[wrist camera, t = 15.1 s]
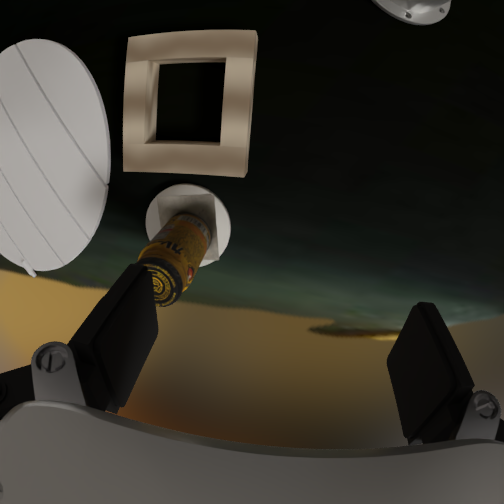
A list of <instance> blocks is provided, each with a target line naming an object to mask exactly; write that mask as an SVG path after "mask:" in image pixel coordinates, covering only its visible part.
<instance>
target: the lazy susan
mask: <svg viewBox="0 0 504 504" xmlns="http://www.w3.org/2000/svg"><path fill="white" fill-rule="evenodd" d="M16 44H17V45H12V46H10V47H9V48H7V49H5V50H4V51H3V52H1V53H0V253H1V254H2V255H3V256H4V257H6V258H7V259H8V260H10V261H12V262H13V263H15V264H17V265H19V266H21V267H24V268H25V269H26V271H27V272H28V273H29V275H32V276H33V277H35V276H36V275H37V274H36V273H35V272H34V270H36V271H48V270H53V269H57V268H60V267H62V266H64V265H66V264H67V263H69V262H70V261H72V260H73V259H74V258H75V257H76V256H78V255H79V254H80V253H81V252H82V251H83V250H84V248H85V247H86V246H87V245H88V243H89V242H90V240H91V237H93V235H94V233H95V231H96V229H97V227H98V225H99V222H100V220H101V217H102V214H103V211H104V207H105V203H106V199H107V194H108V188H109V187H108V185H107V184H108V183H109V180H110V166H111V151H110V137H109V129H108V122H107V117H106V113H105V108H104V105H103V101H102V98H101V95H100V92H99V90H98V87H97V85H96V83H95V81H94V79H93V77H92V75H91V73H90V72H89V70H88V69H87V67H86V66H85V64H84V63H83V62H82V61H81V59H80V58H79V57H78V56H77V55H76V54H75V53H74V52H72V51H71V50H70V49H68V48H67V47H65V46H64V45H62V44H59V43H57V42H54V41H50V40H44V39H30V40H25V41H22V42H19V43H16ZM33 269H34V270H33Z"/></svg>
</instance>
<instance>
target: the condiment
mask: <svg viewBox="0 0 504 504" xmlns="http://www.w3.org/2000/svg"><path fill="white" fill-rule="evenodd" d="M157 204H158V212H159V219H160V226H161V230H160V231H159V232H158V233H157V234H156V235H155V236H154V238H153V239H152V240H151V241H150V242H149V243H148V244H147V245H146V246H145V248H144V249H143V250H142V251H141V252H140V255H139V258H138V261H137V263H135V264H137V265H143V266H147V268H148V271H151V272H152V276H153V286H154V296H155V305H156V306H159V307H160V306H161V307H166V306H169V305H171V304H173V303H174V302H176V301H177V300H178V299H179V297H180V296H181V294H182V292H183V291H184V290H186V289H187V288H188V287H189V285H190V284H191V282H192V280H193V278H194V276H195V274H196V272H197V270H198V268H199V266H200V264H201V262H202V260H219V251H218V237H217V226H216V211H215V198H214V195H197V196H194V195H191V196H165V197H157Z"/></svg>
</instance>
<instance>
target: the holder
mask: <svg viewBox="0 0 504 504" xmlns="http://www.w3.org/2000/svg"><path fill="white" fill-rule="evenodd" d="M257 43H258V37H257V33H256V31H254V30H195V31H179V32H167V33H157V34H149V35H141V36H134V37H129V38H128V47H127V58H126V70H125V85H124V108H123V169H124V171H129V172H165V173H187V174H204V175H219V176H233V177H245V175H246V173H247V168H248V155H249V141H250V128H251V116H252V103H253V91H254V79H255V67H256V55H257ZM193 62H226V69H225V82H224V95H223V109H222V124H221V141H220V142H203V141H156V114H157V93H158V77H159V64H170V63H193Z"/></svg>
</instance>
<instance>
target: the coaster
mask: <svg viewBox="0 0 504 504" xmlns="http://www.w3.org/2000/svg"><path fill="white" fill-rule="evenodd" d="M191 195H194V196H197V195H214V198H215V211H216V226H217V237H218V251H219V256H220V255H221V254H222V253H223V251H224V250H225V248H226V246H227V244H228V241H229V238H230V234H231V222H230V217H229V213H228V211H227V209H226V207H225V205H224V204H223V202H222V201H221V200H220V199H219V198H218V197H217V196H216V195H215V194H214V193H213V192H211V191H210V190H208V189H206V188H205V187H202V186H200V185H196V184H190V183H182V184H176V185H173V186H170V187H168V188H166V189H165V190H163V191H162V192H161V193H159V194H158V195H157V196H156V197H155V198H154V199H153V201H152V202H151V204H150V206H149V208H148V211H147V214H146V230H147V234H148V237H149V240H150V241H151V240H152V239H153V238H154V236H155V235H156V234H157V233H158V232H159V231H160V230H161V226H160V219H159V212H158V204H157V197H165V196H191ZM213 261H215V260H202V262H201V264H200V266H199V267H201V266H204V265H207V264H209V263H211V262H213Z"/></svg>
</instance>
